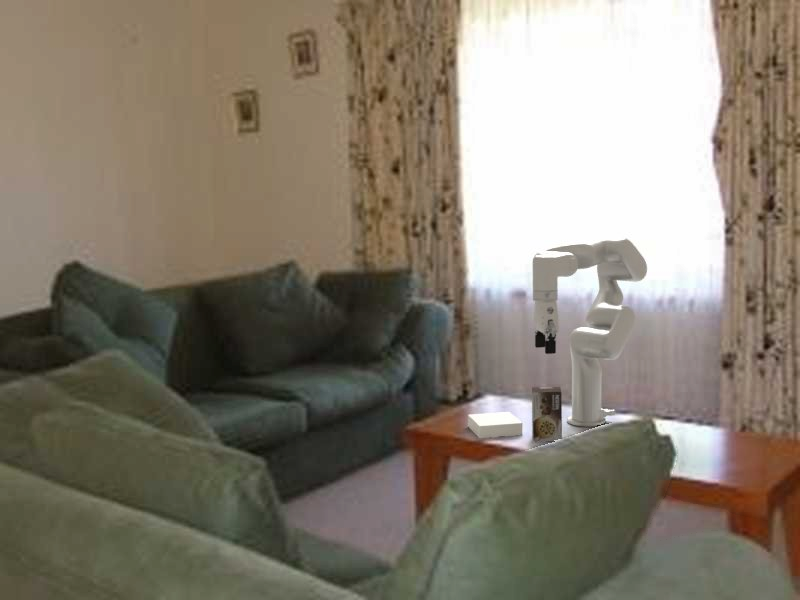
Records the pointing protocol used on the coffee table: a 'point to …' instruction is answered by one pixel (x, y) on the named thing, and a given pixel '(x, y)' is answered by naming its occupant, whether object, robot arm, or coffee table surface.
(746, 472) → the coffee table surface
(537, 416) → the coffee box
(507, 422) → the riser block
